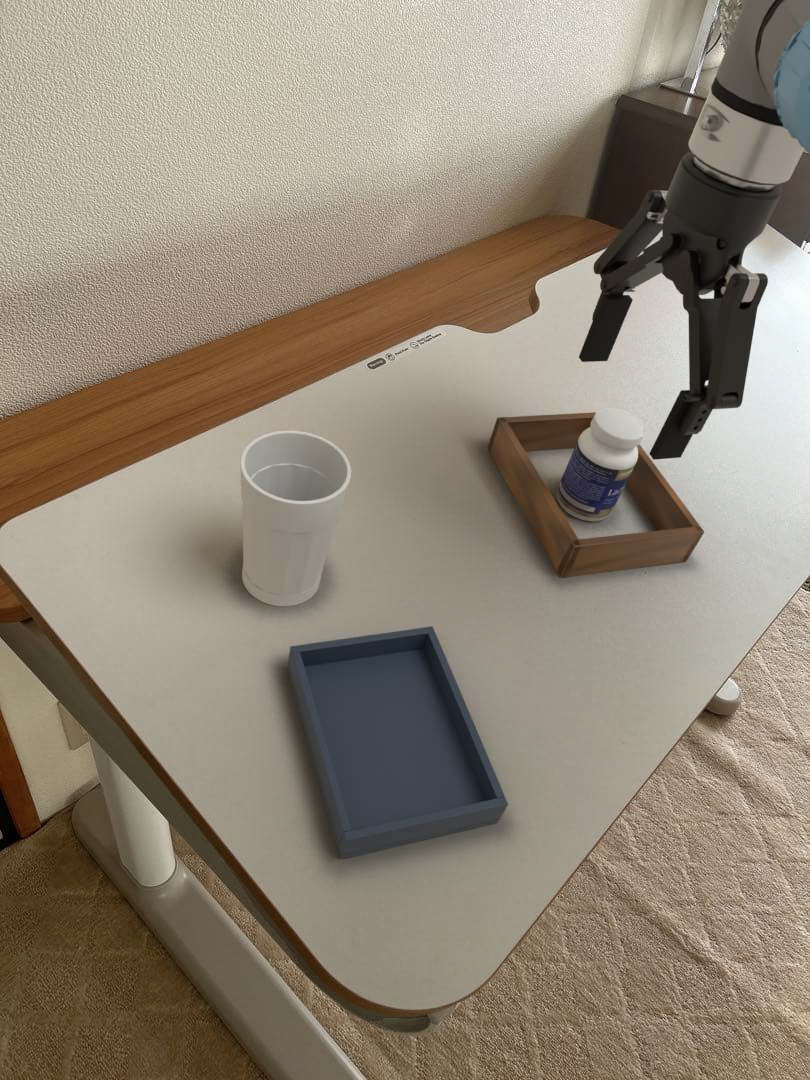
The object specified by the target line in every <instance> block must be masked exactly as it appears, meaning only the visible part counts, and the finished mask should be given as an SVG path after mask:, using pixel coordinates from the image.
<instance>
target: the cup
mask: <svg viewBox="0 0 810 1080" xmlns="http://www.w3.org/2000/svg"><path fill="white" fill-rule="evenodd" d="M239 462H240V463H239V467H240V491H241V493H240V495H241V501H242V503H241V504H242V505H241V507H242V554H243V555H242V556H243V557H242V558H243V559H242V571H241V572H242V573H241V578H242V583H243V587H244V588H245V589H246V591H247V592H248V593H249V594H250V595H251V596H252V597H253V598H254V599H256V600H258V601H260V602H261V603H264V604H267V605H269V606H274V607H293V606H297V605H301V604H303V603H306V602H308V600H310V599H311V598H312V597H314V595H316V593H317V591H318V590H319V587H320V584H321V580H322V579H321V578H322V573H323V570H324V567H325V563H326V560H327V557H328V553H329V551H330V547H331V543H332V541H333V537H334V534H335V530H336V526H337V524H338V520H339V517H340V514H341V510H342V507H343V504H344V501H345V497H346V494H347V492H348V488H349V485H350V482H351V480H352V479H351V478H352V466H351V463H350V460H349V458H348V457H347V456H346V454H345V453H344V452H343V450H342V449H341V448H339V446H338V445H336V444H335V443H333V442H332V441H330V440H328V439H326V438H325V437H323V436H320V435H317V434H314V433H311V432H307V431H300V430H288V429H287V430H276V431H272V432H268V433H265V434H262V435H260V436H258V437H256V438H254V439H253V440H252V441H250V442H249V443H248V444H247V445H246V446H245V447H244V449H243V451H242V453H241V456H240V461H239Z"/></svg>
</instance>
